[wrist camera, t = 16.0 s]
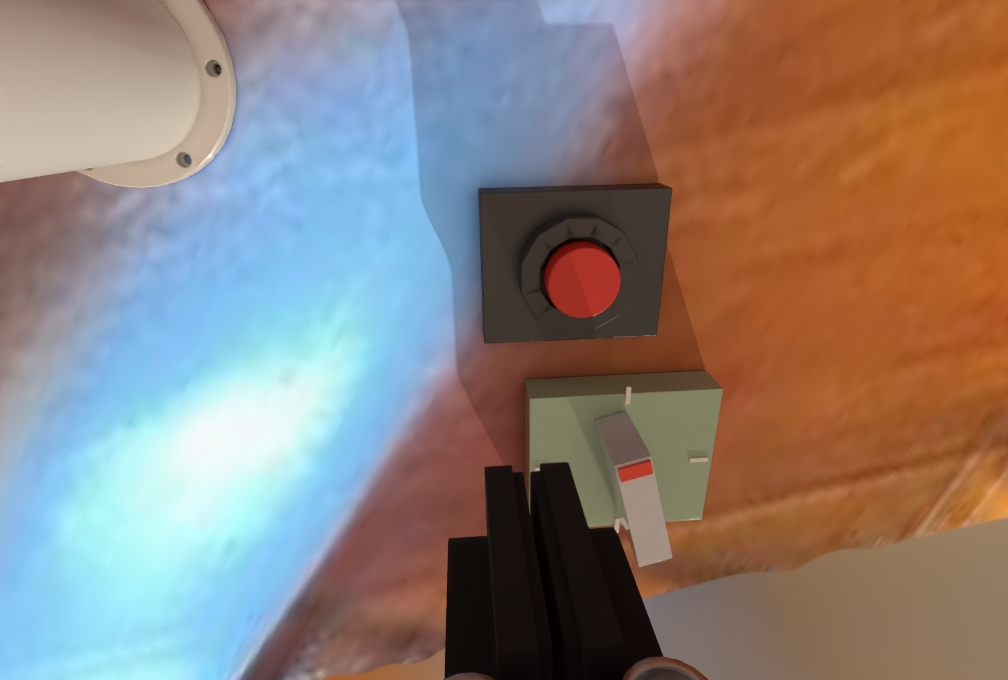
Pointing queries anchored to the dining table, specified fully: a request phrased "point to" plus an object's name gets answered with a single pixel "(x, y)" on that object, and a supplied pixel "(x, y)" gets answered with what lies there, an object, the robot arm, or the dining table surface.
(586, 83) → the dining table surface
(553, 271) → the tap button
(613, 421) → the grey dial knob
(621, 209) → the button block
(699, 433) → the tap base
